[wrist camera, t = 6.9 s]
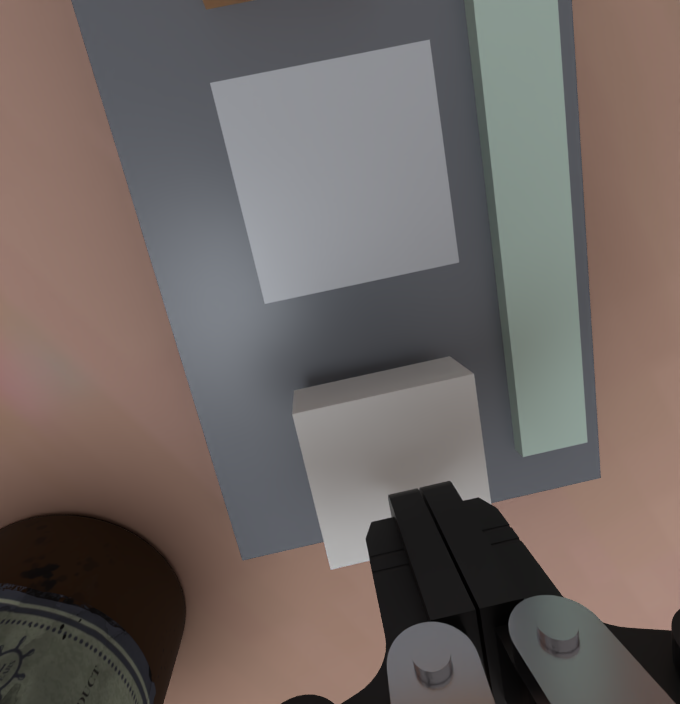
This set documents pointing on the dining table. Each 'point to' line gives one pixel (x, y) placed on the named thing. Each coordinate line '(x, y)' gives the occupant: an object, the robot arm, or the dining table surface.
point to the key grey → (340, 170)
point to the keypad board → (380, 295)
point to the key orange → (221, 3)
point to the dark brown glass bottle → (85, 614)
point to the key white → (387, 445)
